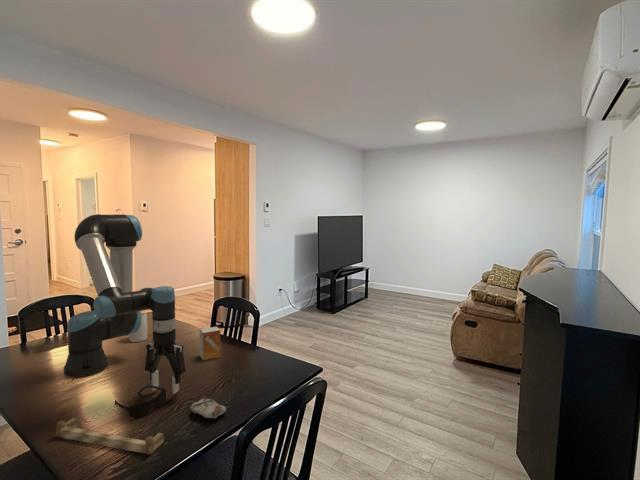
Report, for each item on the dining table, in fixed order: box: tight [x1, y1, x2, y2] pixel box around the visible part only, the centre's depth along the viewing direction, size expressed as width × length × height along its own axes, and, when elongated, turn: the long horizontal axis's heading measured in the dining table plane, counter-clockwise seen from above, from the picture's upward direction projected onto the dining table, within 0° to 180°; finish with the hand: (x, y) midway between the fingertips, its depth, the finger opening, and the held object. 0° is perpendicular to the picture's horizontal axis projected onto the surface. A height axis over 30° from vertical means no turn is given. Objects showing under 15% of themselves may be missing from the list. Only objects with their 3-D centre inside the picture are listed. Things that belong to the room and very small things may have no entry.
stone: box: [190, 397, 227, 419], centre depth 113 cm, size 12×9×3 cm
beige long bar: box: [56, 417, 165, 456], centre depth 100 cm, size 32×6×4 cm, turn 77°
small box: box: [199, 326, 221, 362], centre depth 158 cm, size 8×6×13 cm
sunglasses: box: [114, 385, 167, 419], centre depth 118 cm, size 14×16×5 cm
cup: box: [128, 312, 148, 343], centre depth 176 cm, size 8×8×14 cm
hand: (165, 390), depth 125 cm, fingers open, 8 cm apart
